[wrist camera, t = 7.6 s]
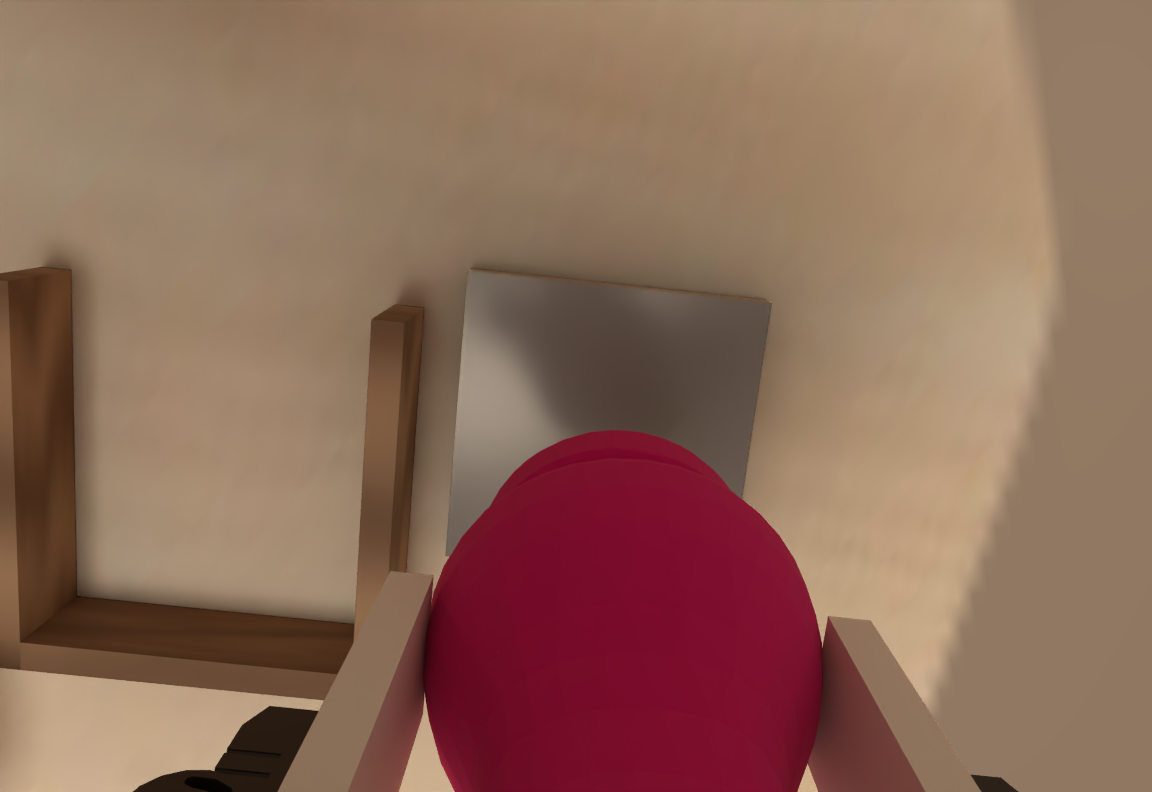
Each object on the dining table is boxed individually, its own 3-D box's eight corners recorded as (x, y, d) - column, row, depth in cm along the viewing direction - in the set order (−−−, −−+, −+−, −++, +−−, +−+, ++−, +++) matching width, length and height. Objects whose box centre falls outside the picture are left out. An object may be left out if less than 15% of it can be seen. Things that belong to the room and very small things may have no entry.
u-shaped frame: (41, 267, 31) (-26, 277, 28) (424, 307, 32) (404, 322, 28) (49, 618, 34) (-10, 667, 31) (400, 654, 34) (380, 705, 31)
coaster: (471, 268, 31) (467, 270, 30) (766, 299, 31) (771, 303, 30) (449, 544, 33) (445, 556, 32) (724, 573, 34) (728, 584, 33)
